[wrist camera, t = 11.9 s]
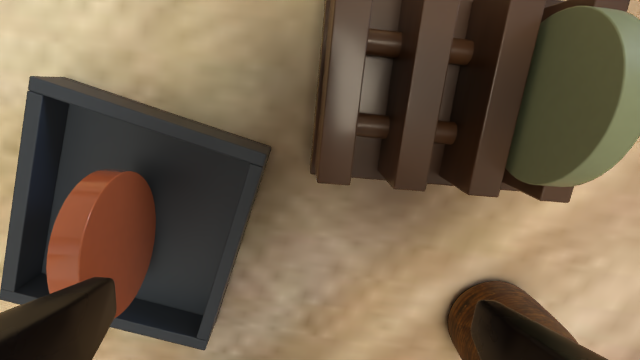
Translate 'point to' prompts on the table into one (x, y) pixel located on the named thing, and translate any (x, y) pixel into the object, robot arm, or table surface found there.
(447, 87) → the rack
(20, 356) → the robot arm
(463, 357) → the utensil holder
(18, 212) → the tray
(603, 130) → the sage disc
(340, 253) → the table surface
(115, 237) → the terracotta disc
